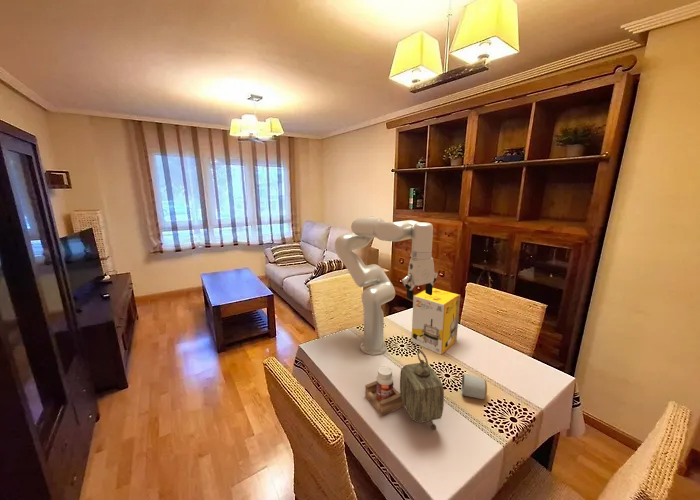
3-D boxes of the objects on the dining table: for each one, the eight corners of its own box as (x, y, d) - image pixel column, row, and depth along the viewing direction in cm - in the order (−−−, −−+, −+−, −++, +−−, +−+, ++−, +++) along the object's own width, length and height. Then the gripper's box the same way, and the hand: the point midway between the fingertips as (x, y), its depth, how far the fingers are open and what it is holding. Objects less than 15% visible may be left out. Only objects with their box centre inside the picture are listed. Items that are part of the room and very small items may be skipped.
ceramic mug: (486, 404, 102) (488, 385, 100) (462, 399, 104) (464, 381, 102) (482, 385, 112) (484, 368, 110) (460, 381, 114) (461, 364, 112)
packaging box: (456, 341, 143) (460, 294, 137) (441, 354, 131) (444, 305, 126) (427, 330, 154) (430, 286, 148) (411, 341, 143) (413, 295, 137)
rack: (365, 395, 106) (365, 384, 105) (387, 386, 111) (387, 376, 110) (381, 416, 97) (382, 404, 96) (404, 405, 102) (405, 394, 100)
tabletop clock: (441, 433, 90) (446, 364, 84) (415, 438, 88) (418, 368, 83) (421, 400, 104) (424, 339, 98) (398, 404, 102) (400, 342, 96)
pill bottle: (381, 405, 100) (381, 377, 97) (373, 394, 106) (373, 367, 103) (396, 400, 102) (397, 373, 100) (387, 389, 108) (388, 363, 105)
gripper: (410, 260, 101) (408, 304, 105) (445, 254, 109) (442, 295, 113) (397, 255, 107) (396, 297, 111) (431, 250, 115) (429, 289, 119)
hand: (419, 296), depth 112 cm, fingers open, 9 cm apart
